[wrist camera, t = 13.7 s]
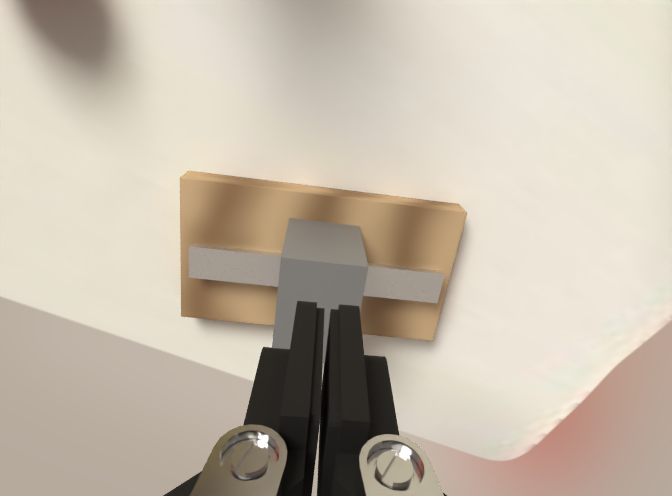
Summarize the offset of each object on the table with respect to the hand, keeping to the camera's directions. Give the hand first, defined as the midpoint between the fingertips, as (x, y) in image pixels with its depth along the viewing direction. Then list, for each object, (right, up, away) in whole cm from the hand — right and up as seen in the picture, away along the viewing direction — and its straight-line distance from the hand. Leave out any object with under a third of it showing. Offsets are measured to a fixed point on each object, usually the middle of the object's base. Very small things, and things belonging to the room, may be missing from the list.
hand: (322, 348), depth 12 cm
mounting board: (-1, +2, +22) cm, 22 cm away
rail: (-1, +1, +20) cm, 20 cm away
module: (-1, +1, +20) cm, 20 cm away
